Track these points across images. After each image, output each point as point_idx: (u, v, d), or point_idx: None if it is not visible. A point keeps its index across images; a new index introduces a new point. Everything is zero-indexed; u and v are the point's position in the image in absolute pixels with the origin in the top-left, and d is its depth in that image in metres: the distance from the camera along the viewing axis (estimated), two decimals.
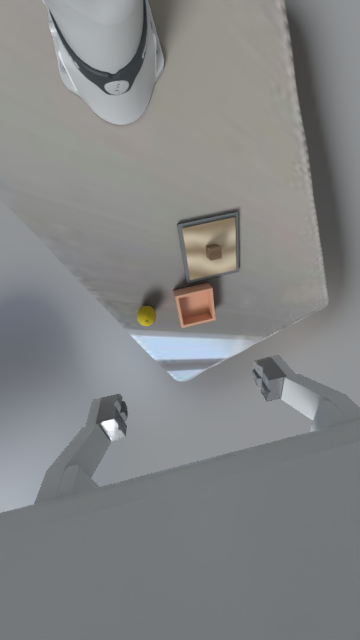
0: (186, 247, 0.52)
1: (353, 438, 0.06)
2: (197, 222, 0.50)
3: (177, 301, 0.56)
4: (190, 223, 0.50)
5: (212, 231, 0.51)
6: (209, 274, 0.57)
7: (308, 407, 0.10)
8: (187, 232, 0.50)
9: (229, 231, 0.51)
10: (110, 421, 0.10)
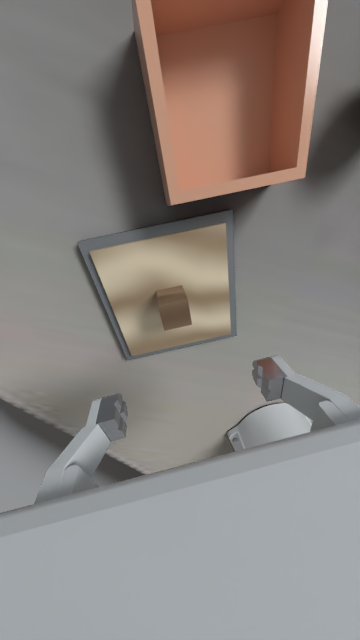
0: (227, 303, 0.24)
1: (353, 438, 0.06)
2: None
3: (303, 151, 0.15)
4: (213, 338, 0.28)
5: (173, 333, 0.25)
6: (170, 238, 0.20)
7: (308, 407, 0.10)
8: (222, 327, 0.26)
9: (137, 335, 0.25)
10: (110, 421, 0.10)
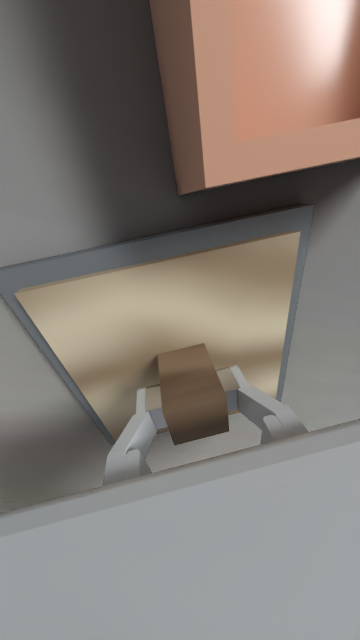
0: (276, 365, 0.14)
1: (353, 438, 0.06)
2: None
3: None
4: None
5: None
6: (186, 264, 0.09)
7: (259, 419, 0.09)
8: None
9: (124, 417, 0.15)
10: (160, 409, 0.10)
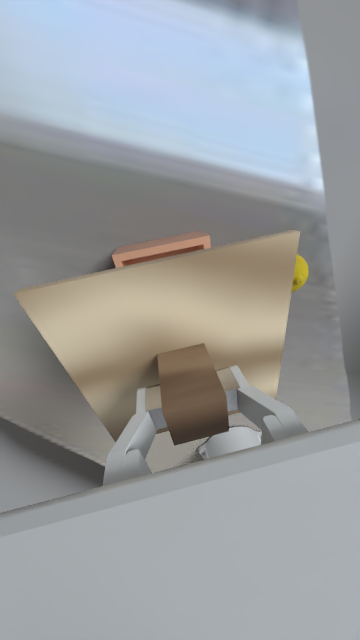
0: (276, 365, 0.14)
1: (353, 438, 0.06)
2: None
3: None
4: None
5: None
6: (186, 264, 0.09)
7: (259, 419, 0.09)
8: None
9: (124, 418, 0.15)
10: (160, 409, 0.10)
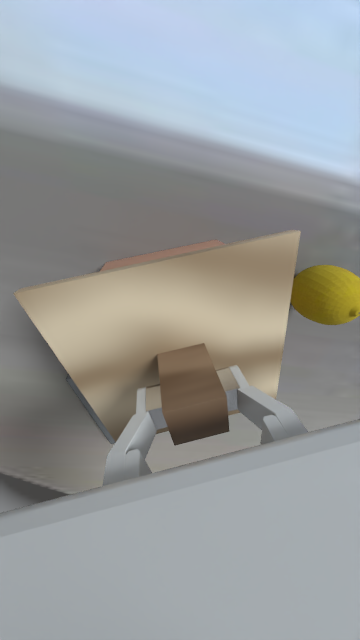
0: (277, 365, 0.14)
1: (353, 438, 0.06)
2: None
3: None
4: None
5: None
6: (186, 264, 0.09)
7: (259, 419, 0.09)
8: None
9: (124, 418, 0.15)
10: (160, 409, 0.10)
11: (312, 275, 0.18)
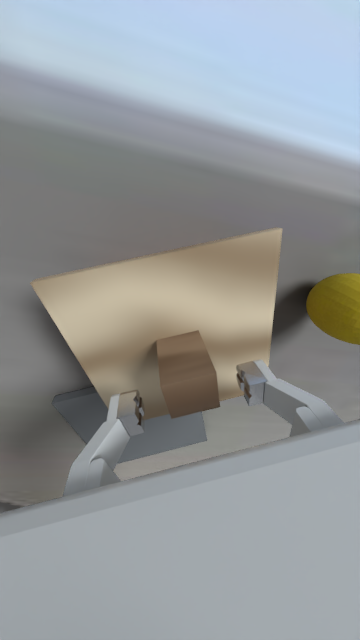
0: (266, 352, 0.16)
1: (353, 438, 0.06)
2: (174, 447, 0.30)
3: None
4: (186, 444, 0.30)
5: None
6: (181, 257, 0.11)
7: (288, 412, 0.09)
8: None
9: None
10: (131, 416, 0.10)
11: (338, 286, 0.16)
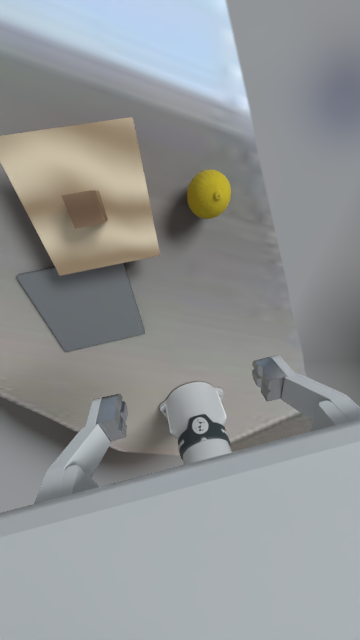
0: (150, 218, 0.25)
1: (353, 438, 0.06)
2: (119, 337, 0.39)
3: None
4: (128, 335, 0.39)
5: (99, 250, 0.26)
6: (76, 130, 0.19)
7: (308, 407, 0.10)
8: (150, 247, 0.27)
9: (60, 249, 0.25)
10: (110, 421, 0.10)
11: (195, 176, 0.25)
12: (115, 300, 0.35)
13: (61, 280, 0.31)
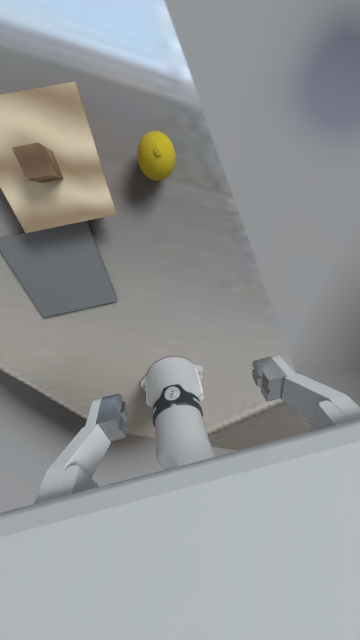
0: (102, 177, 0.28)
1: (353, 438, 0.06)
2: (92, 304, 0.42)
3: None
4: (101, 303, 0.42)
5: (59, 208, 0.29)
6: (27, 95, 0.23)
7: (308, 407, 0.10)
8: (105, 206, 0.29)
9: (24, 207, 0.28)
10: (110, 421, 0.10)
11: None
12: (85, 265, 0.38)
13: (33, 244, 0.34)
